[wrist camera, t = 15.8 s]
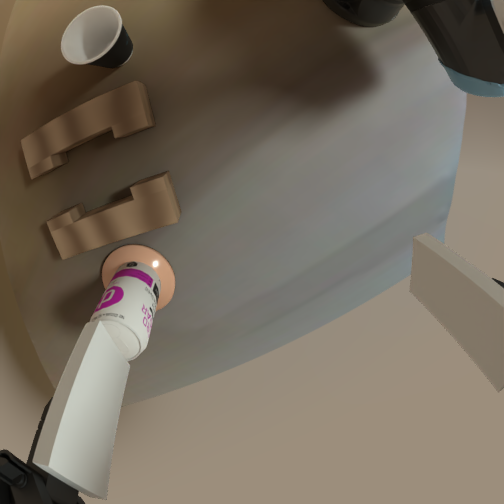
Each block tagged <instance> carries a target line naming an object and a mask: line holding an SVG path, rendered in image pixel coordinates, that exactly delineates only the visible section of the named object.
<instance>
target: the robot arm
mask: <svg viewBox="0 0 504 504" xmlns="http://www.w3.org/2000/svg"><path fill="white" fill-rule="evenodd" d="M323 1H324V2H325V4H326V5H327V6H328V7H329V8H330V9H332V10H333V11H334V12H335V13H337V14H338V15H339V16H341V17H343V18H344V19H346V20H348V21H350V22H352V23H355V24H358V25H362V26H367V27H376V26H381V25H383V24H386V23H388V22H390V21H391V20H393V19H394V18H395V17H396V16H397V14H398V13H399V11H400V9H401V8H402V7H403V6H404V4H405V5H406V6H407V8H408V9H409V10H410V12H411V14H412V15H413V16H414V18H415V19H416V21H417V22H418V24H419V25H420V27H421V29H422V30H423V32H424V33H425V35H426V37H427V38H428V40H429V42H430V43H431V45H432V47H433V49H434V50H435V52H436V54H437V56H438V60H439V62H440V63H441V65H442V66H443V67H444V68H445V70H446V72H447V73H448V75H449V77H450V79H451V81H452V82H453V84H454V85H455V86H457V87H458V88H460V89H461V90H462V91H464V92H466V93H469V94H473V95H477V96H484V97H503V96H504V0H323ZM423 7H424V8H423ZM410 292H411V293H412V294H413V295H414V296H415V297H416V298H417V299H418V300H419V301H420V302H421V303H422V304H423V305H424V306H425V307H426V309H427V310H429V312H430V313H431V314H432V315H433V316H434V317H435V318H436V319H437V320H438V321H439V322H440V323H441V325H442V326H443V327H444V328H445V329H446V330H447V331H448V332H449V333H450V335H451V336H452V337H453V338H454V339H455V340H456V341H457V343H458V344H459V345H460V346H461V347H462V348H463V349H464V351H465V352H466V353H467V354H468V355H469V357H470V358H471V359H472V360H473V361H474V362H475V364H476V365H477V366H478V367H479V369H480V370H481V371H482V372H483V373H484V375H485V376H486V377H487V379H488V380H489V381H490V382H491V384H492V385H493V386H494V387H495V389H496V390H497V391H498V392H499V391H501V390H502V389H503V388H504V283H503V282H501V281H498V280H496V279H494V278H492V279H491V278H490V277H489V276H487V275H486V274H485V273H483V272H482V271H481V270H480V269H478V268H477V267H475V266H474V265H473V264H471V263H470V262H469V261H467V260H466V259H465V258H463V257H462V256H460V255H459V254H457V253H456V252H455V251H453V250H452V249H450V248H449V247H447V246H446V245H445V244H443V243H442V242H440V241H439V240H437V239H436V238H434V237H432V236H431V235H429V234H428V233H424V234H421V235H418V236H415V237H413V256H412V270H411V282H410ZM129 369H130V365H129V363H128V362H127V361H126V359H125V358H124V356H123V355H122V353H121V352H120V350H119V349H118V347H117V346H116V344H115V343H114V341H113V340H112V338H111V337H110V335H109V334H108V332H107V330H106V329H105V327H104V326H103V324H102V322H101V321H100V320H98V321H93V322H89V323H86V324H85V326H84V328H83V330H82V332H81V335H80V337H79V339H78V341H77V343H76V345H75V347H74V349H73V352H72V354H71V356H70V358H69V360H68V363H67V365H66V367H65V370H64V372H63V374H62V377H61V379H60V382H59V384H58V386H57V389H56V392H55V394H54V397H52V398H51V400H50V401H49V402H48V404H47V405H46V406H45V408H44V411H43V414H42V417H41V421H40V423H39V425H38V430H37V431H36V434H35V438H34V440H33V444H32V447H31V451H30V454H29V457H28V460H27V463H26V464H25V463H24V462H23V461H21V460H20V459H18V458H17V457H16V456H14V455H13V454H12V453H11V452H9V451H8V450H1V451H0V504H85V502H84V501H83V500H82V499H81V497H79V496H78V492H79V491H80V492H81V493H83V494H85V495H87V496H89V497H93V498H98V499H104V500H107V492H108V483H109V475H110V467H111V460H112V454H113V447H114V441H115V435H116V430H117V424H118V419H119V414H120V409H121V404H122V399H123V395H124V390H125V386H126V381H127V377H128V373H129Z"/></svg>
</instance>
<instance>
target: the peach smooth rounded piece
mask: <svg viewBox="0 0 504 504" xmlns="http://www.w3.org/2000/svg"><path fill="white" fill-rule="evenodd" d="M132 261H137V262H142V263H145V264H146V265H148V266H150V267H152V269H153V270H154V271H155V272H156V273H157V274H158V276H159V278H160V280H161V291H160V295H159V299H158V303H157V306H156V310H155V311H157V310H159V309H161V308H163V307H164V306H165V305H167V304H168V302H169V301H170V300H171V298H172V296H173V294H174V290H175V275H174V272H173V269H172V267H171V265H170V264H169V262H168V261H167V260H166V258H165V257H164V256H163V255H162V254H160V253H159V252H158V251H156V250H154V249H153V248H150V247H148V246H145V245H140V244H128V245H123V246H121V247H119V248H117V249H115V250H114V251H113V252H112V253H111V254H110V255H109V256H108V258H107V259H106V261H105V263H104V265H103V269H102V280H103V284H104V287H105V289H106V288H107V287H108V285H109V283H110V281H111V279H112V278H113V276H114V274H115V272H116V271H117V269H118V268H119V267H120V266H121V265H123V264H124V263H126V262H132Z"/></svg>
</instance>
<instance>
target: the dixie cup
mask: <svg viewBox="0 0 504 504" xmlns="http://www.w3.org/2000/svg"><path fill="white" fill-rule="evenodd" d="M61 51H62V54H63V56H64V58H65V59H66V60H67V61H69V62H70V63H73V64H90V65H96V66H102V67H107V68H115V67H119V66H121V65H123V64H125V63H126V62H127V61H128V60H129V59H130V57H131V55H132V52H133V44H132V41H131V39H130V37H129V36H128V34H127V32H126V30H125V28H124V26H123V24H122V20H121V16H120V14H119V13H118V11H117V10H115V9H114V8H112V7H109V6H95V7H92V8H89V9H87V10H85V11H83V12H82V13H80V14H79V15H78V16H76V17H75V18H74V19H73V20H72V21H71V22H70V24H69V25H68V26H67V28H66V30H65V32H64V34H63V37H62V40H61Z"/></svg>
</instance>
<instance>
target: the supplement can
mask: <svg viewBox="0 0 504 504" xmlns="http://www.w3.org/2000/svg"><path fill="white" fill-rule="evenodd" d="M160 291H161V280H160V278H159V276H158V274H157V273H156V272H155V271H154V270H153V269H152V267H150V266H148V265H146V264H145V263H142V262H137V261H132V262H126V263H124V264H123V265H121V266H120V267H119V268H118V269H117V271H116V272H115V274H114V276H113V278H112V279H111V281H110V283H109V285H108V287H107V288H106V290H105V292H104V294H103V296H102V298H101V300H100V301H99V303H98V305H97V307H96V309H95V311H94V313H93V315H92V317H91V319H90V322H93V321H98V320H100V321H101V322H102V324H103V326H104V327H105V329H106V330H107V332H108V334H109V335H110V337H111V338H112V340H113V341H114V343H115V344H116V346H117V347H118V349H119V350H120V352H121V353H122V355H123V356H124V358H125V359H126V361H130V360H132V359H135V358H136V357H137V356H138V355H139V354H140V353H141V352H142V351H143V350H144V349H145V348H146V347H147V343H148V340H149V335H150V331H151V327H152V323H153V318H154V314H155V310H156V306H157V303H158V299H159V295H160Z"/></svg>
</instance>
